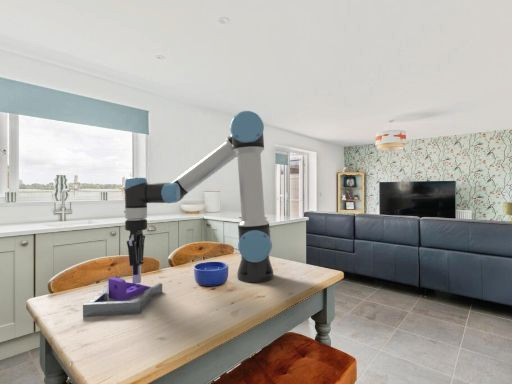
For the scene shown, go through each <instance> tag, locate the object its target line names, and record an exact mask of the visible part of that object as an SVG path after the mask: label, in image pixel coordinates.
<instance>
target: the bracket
mask: <svg viewBox="0 0 512 384" xmlns="http://www.w3.org/2000/svg"><path fill="white" fill-rule="evenodd" d="M107 281H108V282H107V284H108V299H109V300H113V301H128V300H130V299H132V298H133V299H134V298H135V297H138V296H140V295H141V296H142V295H143V294H144V291H146V290H148V289H149V288H151V287H152V286H149V285H145V284H141V283H132V282H127V281H126V280H125V279H124V278H119V277H115V276H113V277H109V278H108V279H107Z"/></svg>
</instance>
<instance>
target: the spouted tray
mask: <svg viewBox="0 0 512 384" xmlns="http://www.w3.org/2000/svg"><path fill="white" fill-rule="evenodd" d="M150 287H151V288H149V289H148V290H146V291H144V293H143V294H141V296H140V298H138V300H125V301H116V300H113V301H108V298H109V294H108V285H104V286H103V290H102V293H98V294H97V295H96V296H94V298H92V299H91V300H89V301H88V302H84V304H82V317H83V318H87V317H89V318H90V317H104V316H105V317H108V316H109V317H110V316H130V315H131V316H132V315H141V313H142V312H143V311H144V310H145V308H146V307H147V305H148V304H149V303H150V302H151V299H152V298H154V297H156V296H158V295H159V294H161V293H163V283H160V282H159V283H157V284H156V285H153V286H150Z"/></svg>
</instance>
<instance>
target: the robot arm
mask: <svg viewBox="0 0 512 384" xmlns="http://www.w3.org/2000/svg"><path fill="white" fill-rule="evenodd" d="M264 128H265V126H264V121H263V119H262V118H261V117H260V116H259V114H257V112H254V111H250V110H243V111H240V112H239V113H237V114H235V115H234V117H233V118H232V120H231V122H230V125H229V129H230V130H229V131H230V135H229V136H227V137H226V138H225V141H224V143H222V144H221V145H220V146H218V147H217V148H216V149H214V150H213V151H211V152H210V153H209V154H208V155H206V156H205V157H204V158H203V159H201V160H200V161H198V162H197V163H196V164H194V165H193V166H192V167H190V168H189V169H188V170H186V171H185V172H184V173H181V175H179V176H178V177H177V178H176V179H174V180H173V181H172V182H148V180H147V178H146V177H127V178H125V181H124V203H125V204H124V210H123V213H124V217H125V219H126V220H125V221H124V226H125V227H124V229H125V230H126V231H129V236H128V240H126V246H127V251H128V252H127V253H128V259H129V267H132V271H131V272H132V274H131V275H132V277H131V278H132V282H131V283H136V284H141V283H142V265H144V264H145V262H144V254H145V253H144V251H145V240H146V236H145V234H143V233H144V232H143V231H145V230H147V229H148V219H147V218H148V204H173V203H178V202H179V201H181V200H183V198H184V197H185V196H186V195H187V194H188V193H189V192H191V191H192V190H194V189H195V188H196V187H198V186H199V185H200V184H202V183H203V182H205V181H206V180H208V178H210V177H211V176H212V175H214V174H215V173H217V172H218V171H219V170H221V169H222V168H223V167H225V166H226V165H227V164H229V163H230V162H231V161H233V160H235V159H236V158H237V167H238V169H237V171H238V183H239V196H240V197H239V199H240V213H241V220H240V222H239V223H238V224H237V228H238V229H237V230H238V231H237V232H238V245H237V248H238V252H239V253H240V255H241V259H240V261H239V262H240V263H239V266H238V269H237V272H236V273H237V279H238V280H239V281H242V282H245V283H264V282H265V283H266V282H269V281H272V279H274V275H275V274H274V269H273V266H272V264H271V261H270V253H271V252H272V248H273V244H272V241H271V229H270V222H269V221H268V220H267V219H266V215H265V213H266V212H265V199H264V186H263V185H264V183H263V173H262V172H263V171H262V158H261V157H262V155H261V154H262V153H263V151H264V150H265V139H264Z"/></svg>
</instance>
